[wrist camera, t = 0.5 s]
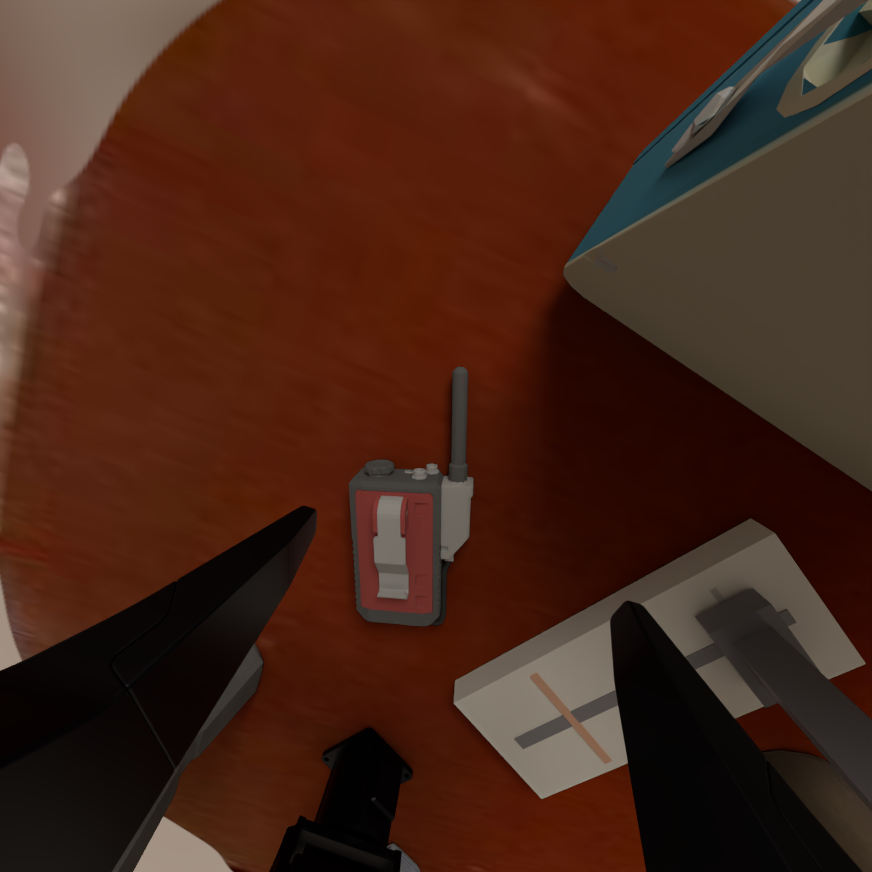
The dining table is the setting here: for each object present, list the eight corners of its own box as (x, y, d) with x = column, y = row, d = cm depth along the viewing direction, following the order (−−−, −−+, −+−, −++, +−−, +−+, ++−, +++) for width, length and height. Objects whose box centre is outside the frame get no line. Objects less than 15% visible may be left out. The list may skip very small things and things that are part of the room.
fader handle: (748, 687, 25) (974, 965, 13) (694, 616, 24) (888, 851, 13) (806, 661, 24) (1100, 938, 12) (752, 587, 23) (1016, 814, 12)
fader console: (537, 771, 31) (542, 801, 29) (455, 680, 30) (453, 705, 28) (836, 640, 25) (868, 665, 23) (750, 518, 24) (777, 534, 22)
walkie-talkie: (468, 613, 29) (477, 366, 24) (467, 659, 24) (477, 369, 20) (365, 604, 30) (353, 364, 25) (346, 647, 25) (327, 367, 21)
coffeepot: (224, 723, 34) (-33, 1105, 17) (146, 666, 34) (-205, 1003, 16) (311, 633, 31) (94, 1008, 13) (225, 566, 30) (-124, 869, 12)
